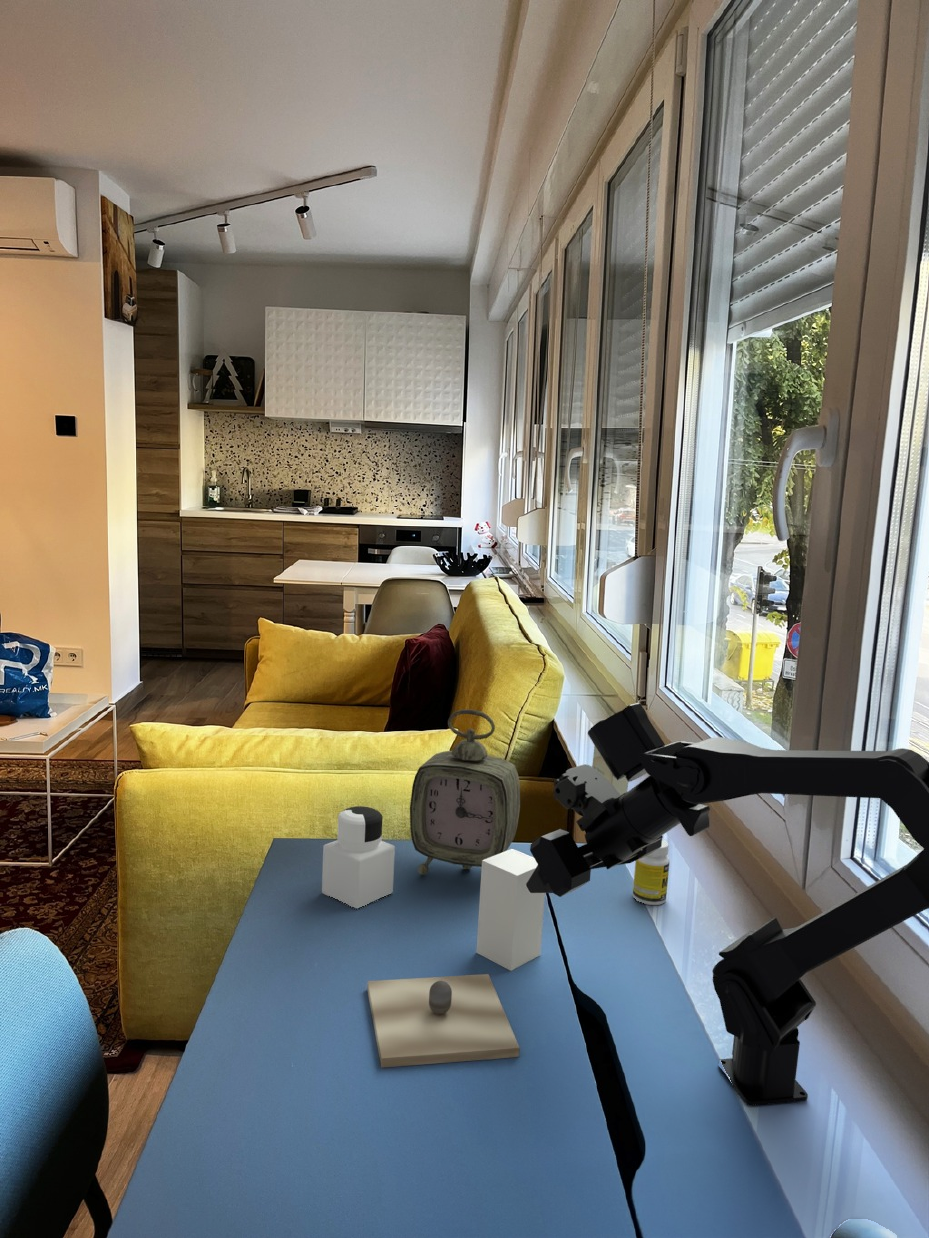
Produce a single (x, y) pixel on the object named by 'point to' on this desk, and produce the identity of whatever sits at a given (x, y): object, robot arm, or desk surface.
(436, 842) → the tabletop clock
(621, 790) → the skincare box
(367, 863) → the medicine bottle
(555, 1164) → the desk surface
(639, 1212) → the desk surface
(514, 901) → the tall white pillar
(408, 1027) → the post stand
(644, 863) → the supplement bottle
